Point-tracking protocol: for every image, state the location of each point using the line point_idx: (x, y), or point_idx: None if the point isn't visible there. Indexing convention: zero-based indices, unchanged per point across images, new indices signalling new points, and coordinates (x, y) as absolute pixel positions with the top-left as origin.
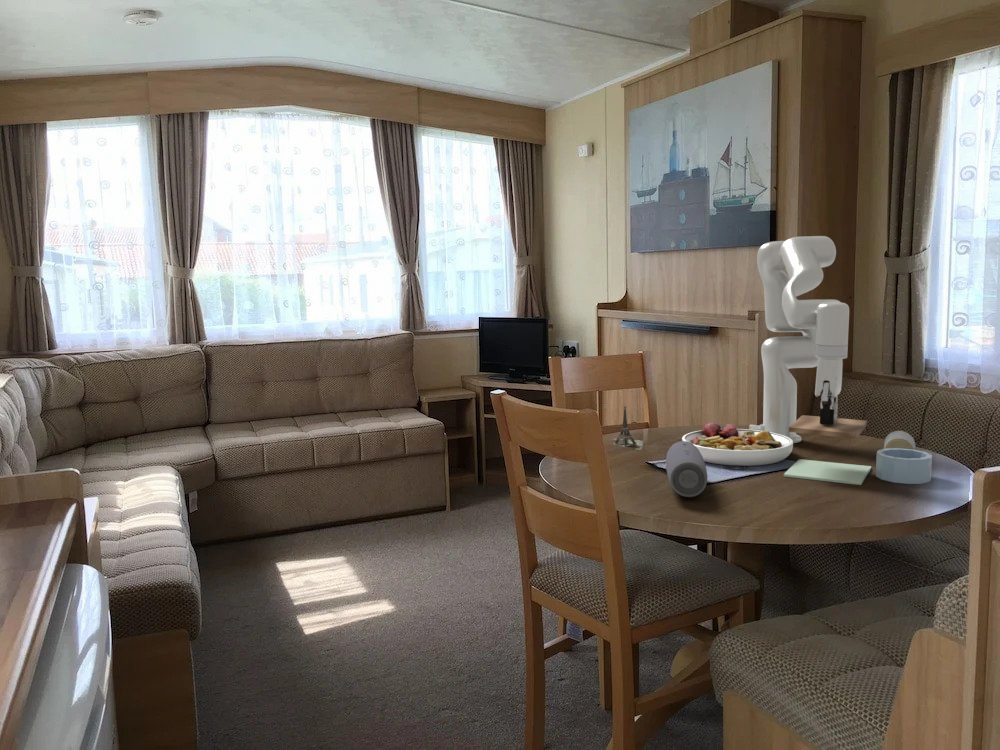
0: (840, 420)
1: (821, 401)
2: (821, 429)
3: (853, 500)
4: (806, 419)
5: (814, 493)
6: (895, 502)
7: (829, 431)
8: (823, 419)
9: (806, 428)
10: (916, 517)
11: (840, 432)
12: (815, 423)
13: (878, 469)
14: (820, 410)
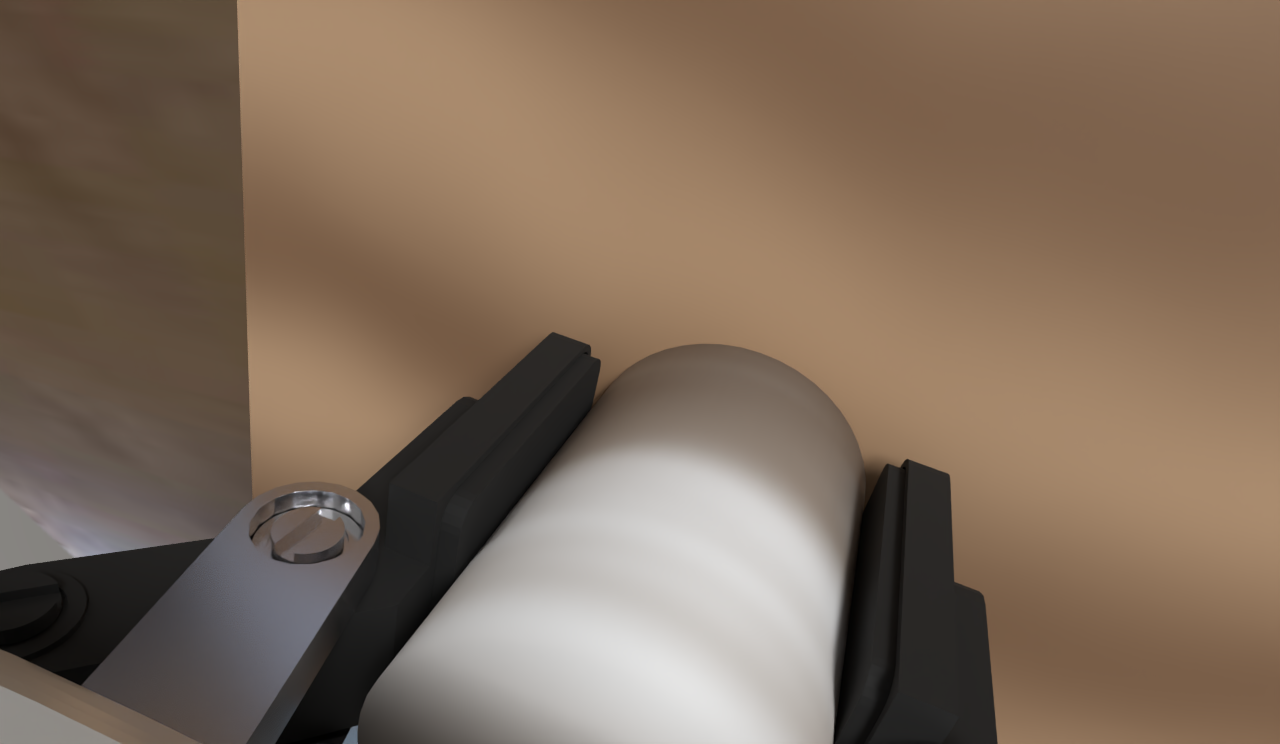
0: (1045, 719)
1: (137, 628)
2: (297, 293)
3: (120, 291)
4: (1160, 113)
5: (146, 68)
6: (187, 484)
7: (249, 379)
8: (456, 414)
9: (273, 53)
10: (18, 496)
11: (254, 494)
12: (723, 265)
13: None
14: (417, 461)
